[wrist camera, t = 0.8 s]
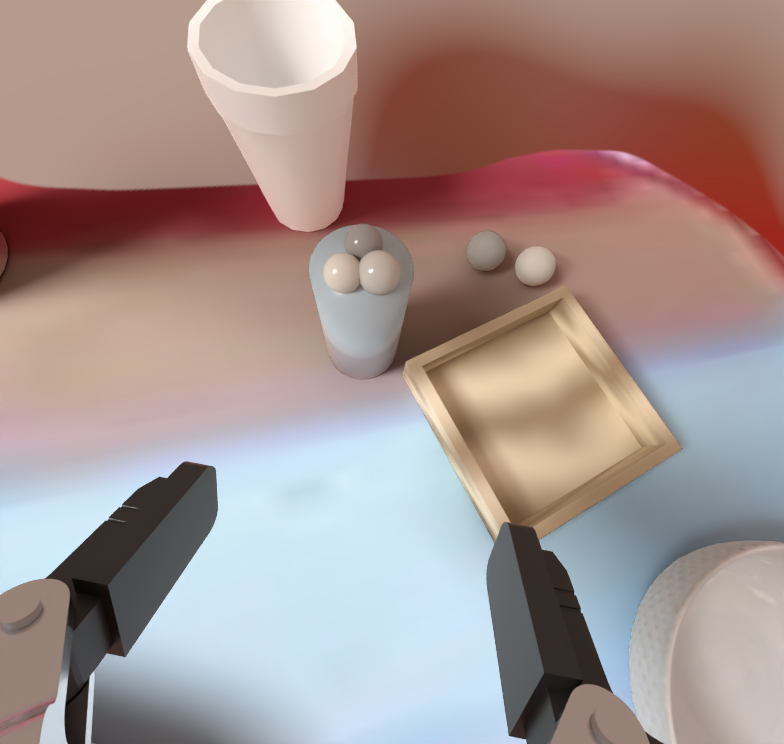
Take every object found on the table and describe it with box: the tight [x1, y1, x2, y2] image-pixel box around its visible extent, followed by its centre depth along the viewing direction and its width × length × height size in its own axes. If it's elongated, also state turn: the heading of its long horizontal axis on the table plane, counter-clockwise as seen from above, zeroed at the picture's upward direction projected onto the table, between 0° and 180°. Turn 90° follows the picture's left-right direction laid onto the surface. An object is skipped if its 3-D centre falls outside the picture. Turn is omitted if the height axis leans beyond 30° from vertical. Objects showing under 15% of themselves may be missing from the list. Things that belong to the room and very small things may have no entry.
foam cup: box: [187, 0, 358, 232], centre depth 28 cm, size 10×9×13 cm
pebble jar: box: [309, 223, 414, 379], centre depth 24 cm, size 5×5×13 cm
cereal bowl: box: [629, 540, 784, 744], centre depth 22 cm, size 17×17×7 cm
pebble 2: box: [515, 246, 556, 286], centre depth 31 cm, size 3×3×3 cm
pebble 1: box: [466, 231, 506, 271], centre depth 32 cm, size 3×3×3 cm
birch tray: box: [402, 285, 682, 543], centre depth 28 cm, size 14×14×3 cm
